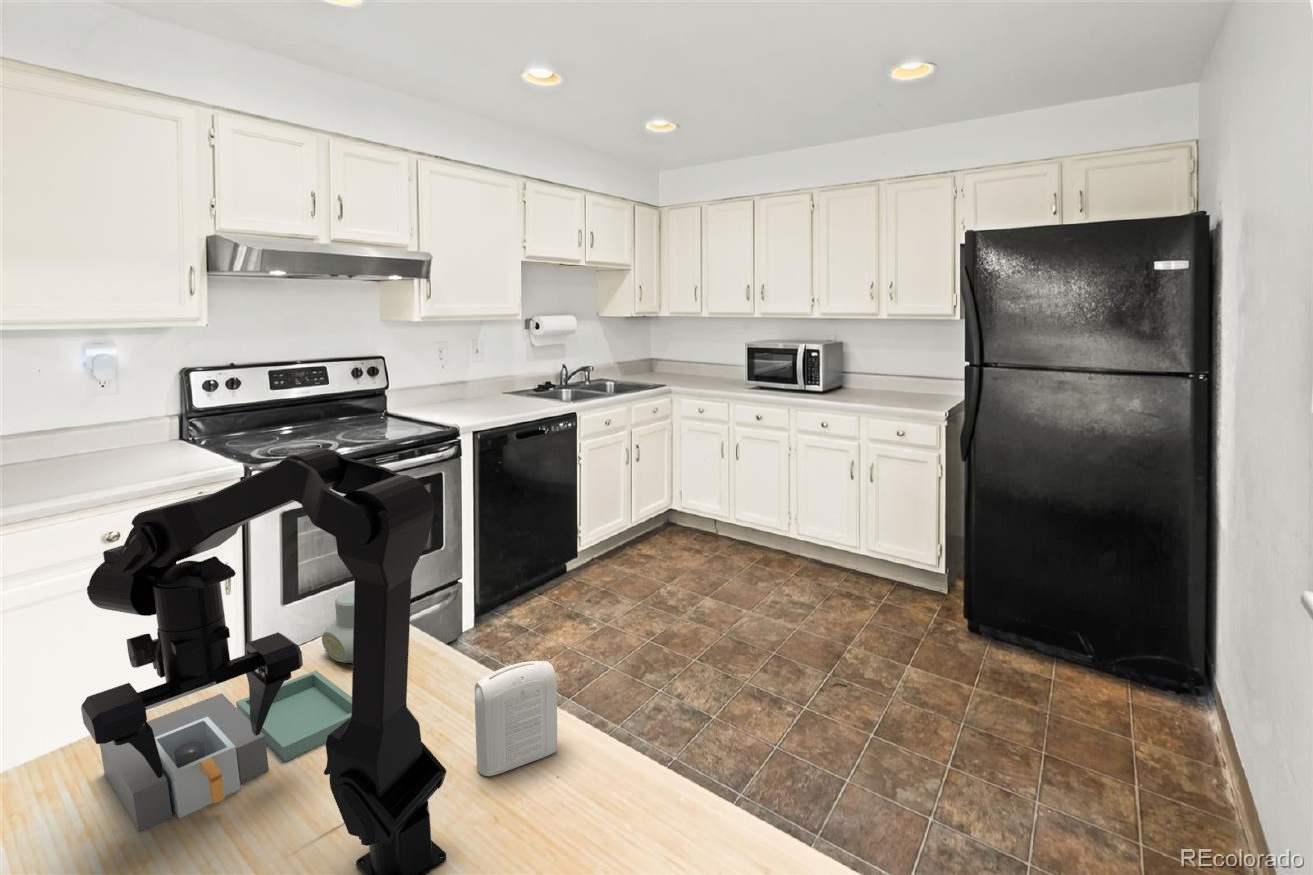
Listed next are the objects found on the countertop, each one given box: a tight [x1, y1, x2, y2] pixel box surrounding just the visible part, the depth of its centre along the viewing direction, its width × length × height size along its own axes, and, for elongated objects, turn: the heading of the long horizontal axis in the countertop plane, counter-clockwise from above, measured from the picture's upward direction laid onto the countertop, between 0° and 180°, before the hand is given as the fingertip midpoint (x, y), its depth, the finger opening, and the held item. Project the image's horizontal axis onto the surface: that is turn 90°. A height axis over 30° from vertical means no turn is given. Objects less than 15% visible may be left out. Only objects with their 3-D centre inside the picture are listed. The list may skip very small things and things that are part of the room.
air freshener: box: [321, 589, 354, 664], centre depth 108 cm, size 11×8×10 cm
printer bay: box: [99, 692, 270, 833], centre depth 80 cm, size 14×13×5 cm
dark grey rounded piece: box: [174, 741, 205, 768], centre depth 79 cm, size 3×3×4 cm
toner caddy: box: [155, 716, 242, 819], centre depth 77 cm, size 12×6×6 cm, turn 51°
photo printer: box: [474, 660, 558, 777], centre depth 83 cm, size 10×4×12 cm, turn 123°
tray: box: [235, 670, 352, 764], centre depth 91 cm, size 15×11×2 cm
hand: (209, 753), depth 73 cm, fingers open, 9 cm apart
